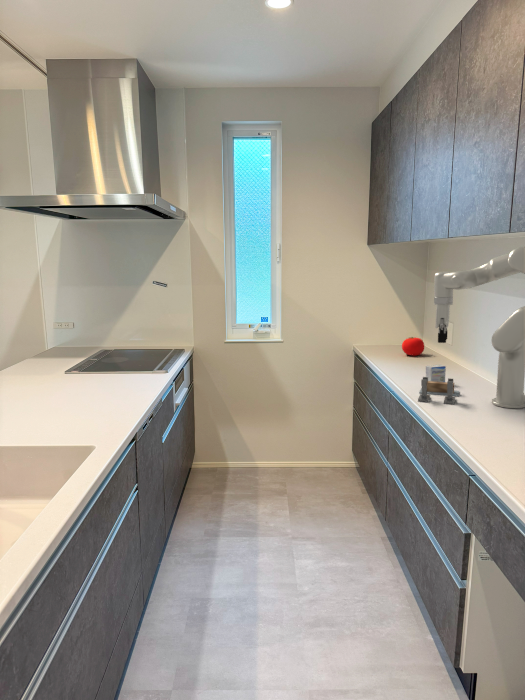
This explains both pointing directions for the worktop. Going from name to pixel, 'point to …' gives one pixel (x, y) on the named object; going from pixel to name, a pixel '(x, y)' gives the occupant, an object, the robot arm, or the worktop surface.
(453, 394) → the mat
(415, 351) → the tomato
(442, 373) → the medicine box
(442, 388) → the tan wooden bar
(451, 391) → the stand
